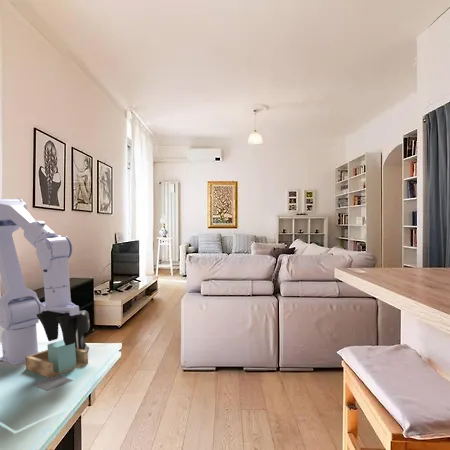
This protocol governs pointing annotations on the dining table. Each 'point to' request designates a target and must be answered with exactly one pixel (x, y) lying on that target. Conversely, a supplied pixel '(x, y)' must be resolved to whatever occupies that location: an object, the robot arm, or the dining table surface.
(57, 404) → the dining table surface
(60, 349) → the block
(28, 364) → the crate
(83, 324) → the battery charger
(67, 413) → the dining table surface
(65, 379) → the coaster
